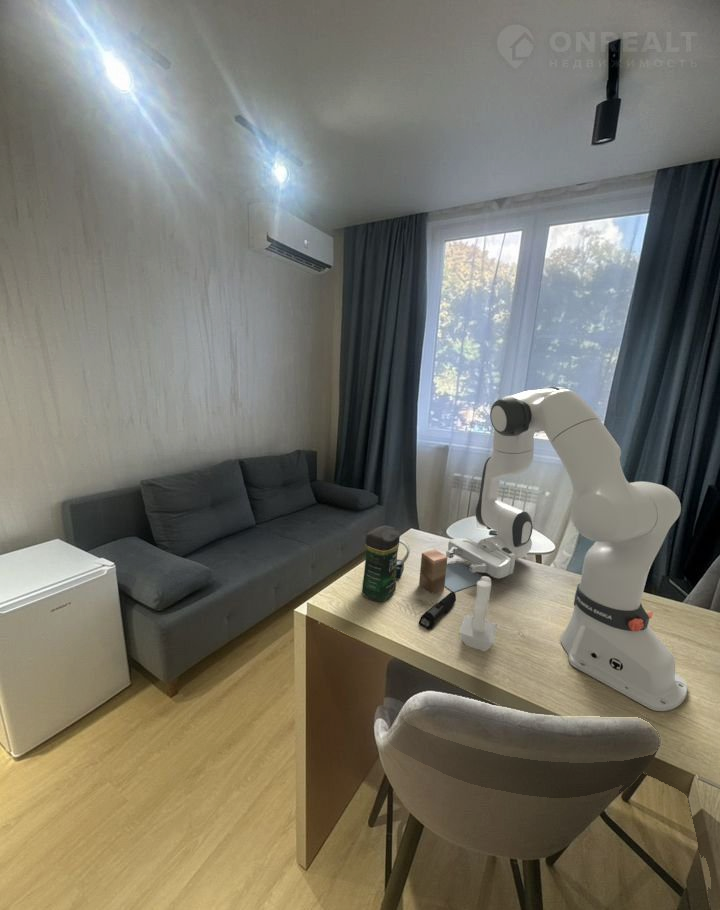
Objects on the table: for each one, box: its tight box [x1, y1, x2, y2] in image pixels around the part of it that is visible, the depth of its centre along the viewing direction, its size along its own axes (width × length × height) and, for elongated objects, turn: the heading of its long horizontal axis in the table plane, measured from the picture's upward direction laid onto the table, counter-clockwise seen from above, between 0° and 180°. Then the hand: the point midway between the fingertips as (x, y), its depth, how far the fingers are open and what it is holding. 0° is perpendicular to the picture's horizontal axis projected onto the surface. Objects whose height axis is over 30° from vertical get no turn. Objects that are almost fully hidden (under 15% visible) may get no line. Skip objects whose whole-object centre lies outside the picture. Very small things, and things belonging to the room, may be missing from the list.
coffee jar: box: [361, 524, 401, 602], centre depth 100 cm, size 10×8×19 cm
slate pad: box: [444, 561, 483, 593], centre depth 112 cm, size 12×14×1 cm
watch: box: [396, 537, 411, 580], centre depth 112 cm, size 6×8×11 cm
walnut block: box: [418, 549, 448, 595], centre depth 105 cm, size 5×5×10 cm
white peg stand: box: [458, 575, 498, 653], centre depth 83 cm, size 7×9×15 cm
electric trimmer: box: [418, 591, 457, 630], centre depth 95 cm, size 4×15×3 cm, turn 140°
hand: (459, 561), depth 110 cm, fingers open, 8 cm apart
